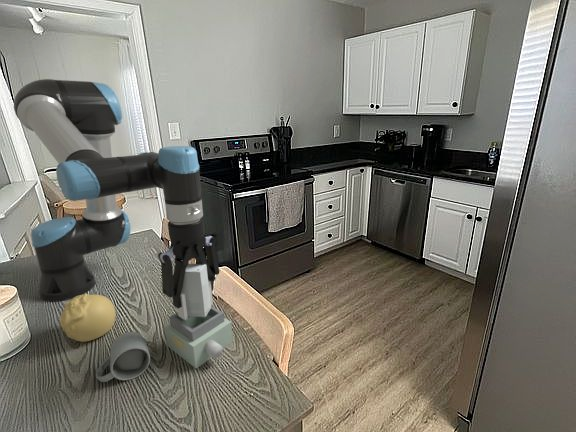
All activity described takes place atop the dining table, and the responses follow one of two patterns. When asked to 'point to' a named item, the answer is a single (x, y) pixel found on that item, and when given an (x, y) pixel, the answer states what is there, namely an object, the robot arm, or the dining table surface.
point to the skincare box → (196, 290)
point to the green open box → (199, 336)
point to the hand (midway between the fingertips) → (196, 309)
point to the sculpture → (87, 317)
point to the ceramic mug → (126, 358)
